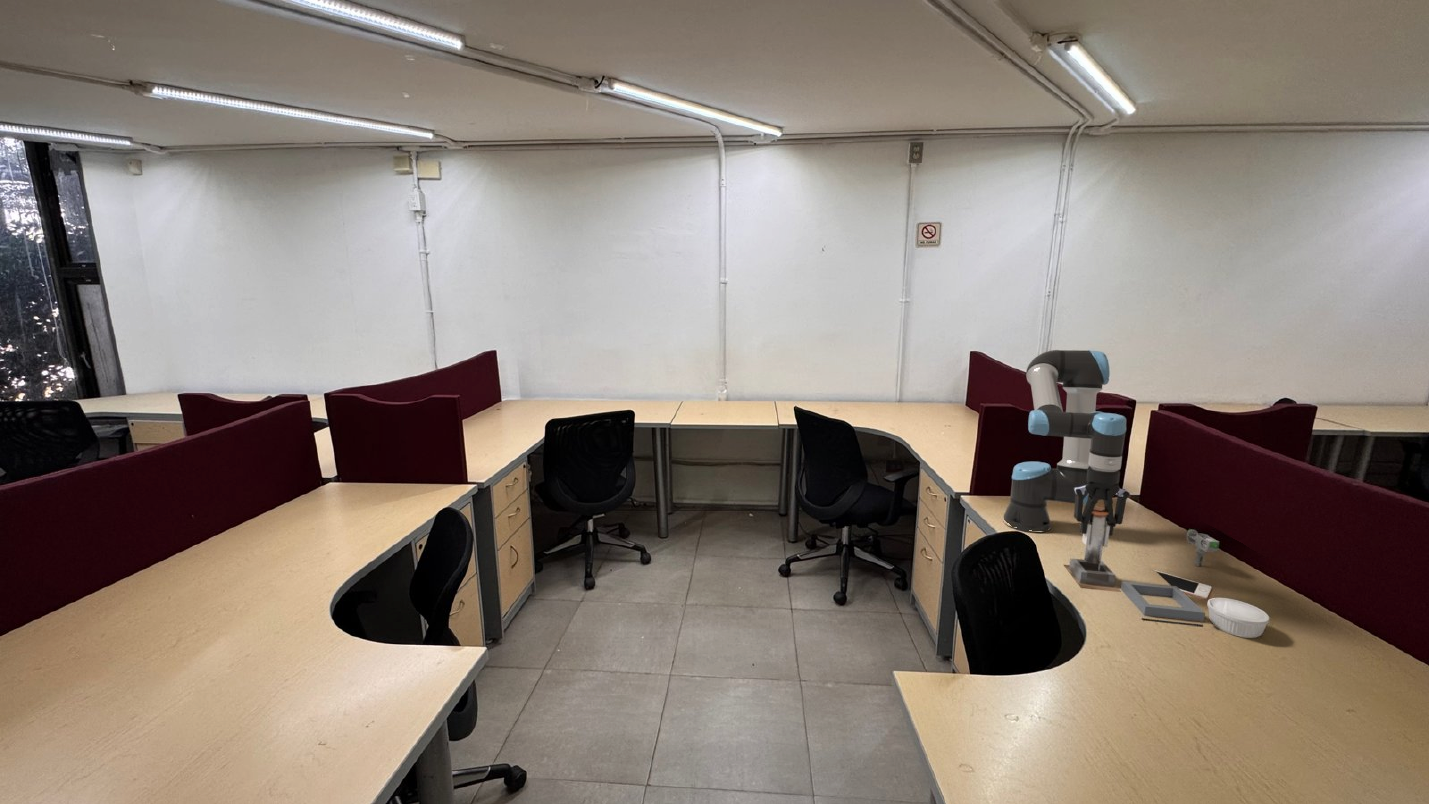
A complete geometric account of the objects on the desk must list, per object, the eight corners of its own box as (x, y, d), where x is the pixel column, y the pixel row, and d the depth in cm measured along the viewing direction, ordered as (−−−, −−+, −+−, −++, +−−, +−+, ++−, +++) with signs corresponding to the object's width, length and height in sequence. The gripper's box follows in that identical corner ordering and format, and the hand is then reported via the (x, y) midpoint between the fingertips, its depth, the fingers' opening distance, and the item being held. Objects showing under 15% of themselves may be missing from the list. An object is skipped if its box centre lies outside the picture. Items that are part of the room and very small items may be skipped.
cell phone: (1206, 601, 150) (1206, 597, 149) (1126, 577, 163) (1127, 574, 163) (1211, 589, 155) (1211, 586, 155) (1134, 567, 169) (1134, 564, 168)
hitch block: (1062, 569, 168) (1064, 554, 167) (1099, 572, 165) (1101, 557, 164) (1080, 592, 154) (1082, 576, 153) (1120, 596, 152) (1122, 580, 151)
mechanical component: (1190, 557, 173) (1195, 528, 171) (1216, 573, 163) (1222, 543, 161) (1180, 557, 173) (1185, 528, 171) (1206, 573, 163) (1211, 542, 161)
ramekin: (1194, 613, 144) (1197, 595, 143) (1244, 617, 141) (1247, 599, 140) (1224, 639, 133) (1227, 619, 132) (1278, 643, 131) (1282, 624, 130)
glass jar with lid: (1079, 556, 162) (1085, 505, 159) (1098, 557, 160) (1104, 507, 157) (1086, 564, 157) (1092, 512, 154) (1106, 565, 156) (1112, 513, 153)
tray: (1120, 594, 153) (1122, 581, 152) (1174, 599, 150) (1176, 586, 149) (1143, 620, 141) (1145, 606, 140) (1202, 626, 138) (1205, 612, 137)
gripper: (1075, 470, 152) (1066, 547, 156) (1145, 474, 147) (1134, 553, 152) (1065, 462, 159) (1057, 536, 163) (1132, 465, 154) (1122, 541, 159)
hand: (1094, 544), depth 158 cm, fingers closed on glass jar with lid, 4 cm apart
